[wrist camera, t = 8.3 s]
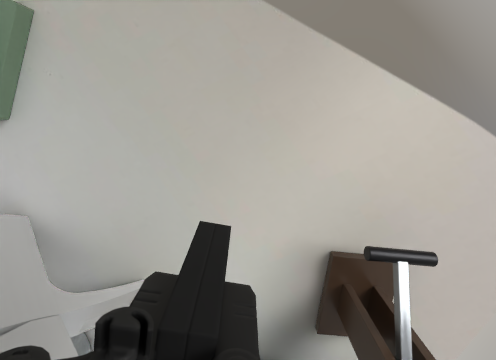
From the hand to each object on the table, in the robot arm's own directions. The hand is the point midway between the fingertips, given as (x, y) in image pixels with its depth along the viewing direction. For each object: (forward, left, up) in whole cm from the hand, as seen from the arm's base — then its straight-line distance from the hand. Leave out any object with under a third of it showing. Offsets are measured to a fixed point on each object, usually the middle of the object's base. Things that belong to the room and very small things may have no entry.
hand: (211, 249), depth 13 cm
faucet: (+24, +4, -20) cm, 31 cm away
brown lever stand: (-9, +22, -20) cm, 31 cm away
